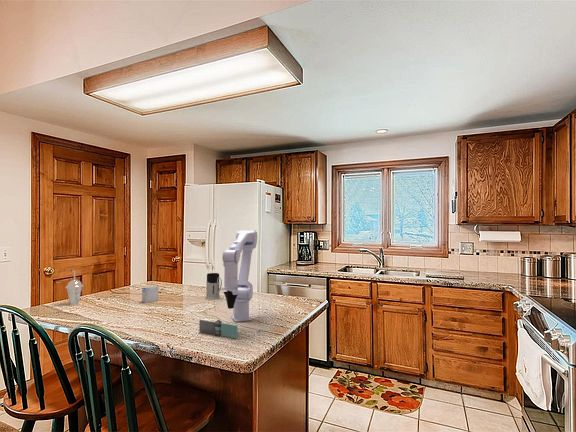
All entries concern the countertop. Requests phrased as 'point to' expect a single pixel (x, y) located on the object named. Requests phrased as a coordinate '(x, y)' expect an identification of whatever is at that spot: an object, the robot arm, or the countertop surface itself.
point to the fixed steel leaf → (209, 327)
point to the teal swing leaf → (228, 330)
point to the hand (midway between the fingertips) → (230, 308)
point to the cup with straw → (74, 291)
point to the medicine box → (149, 294)
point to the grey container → (213, 286)
